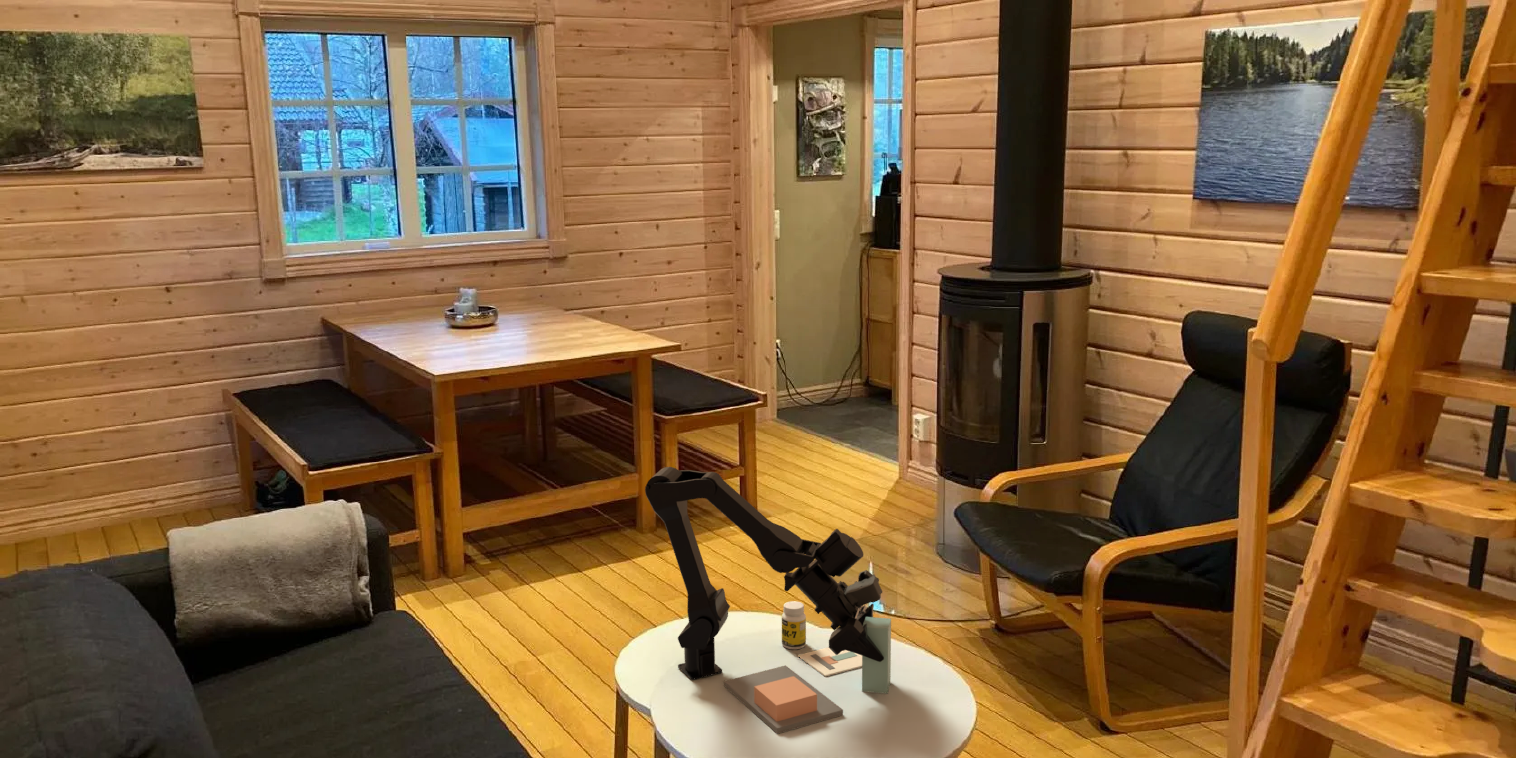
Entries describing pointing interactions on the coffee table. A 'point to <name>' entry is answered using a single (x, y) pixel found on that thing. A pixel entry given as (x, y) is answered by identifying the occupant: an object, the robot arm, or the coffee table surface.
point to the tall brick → (874, 671)
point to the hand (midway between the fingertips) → (884, 653)
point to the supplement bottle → (793, 625)
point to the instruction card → (832, 661)
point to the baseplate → (774, 675)
